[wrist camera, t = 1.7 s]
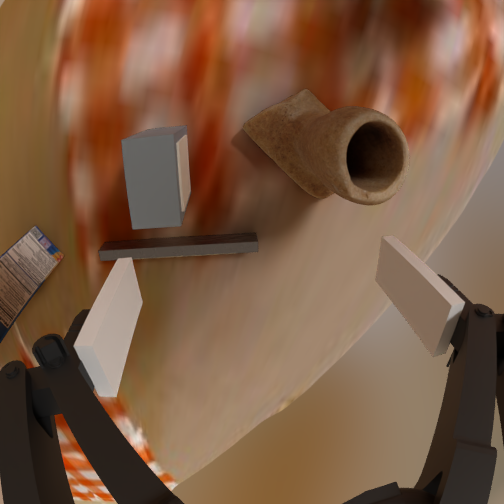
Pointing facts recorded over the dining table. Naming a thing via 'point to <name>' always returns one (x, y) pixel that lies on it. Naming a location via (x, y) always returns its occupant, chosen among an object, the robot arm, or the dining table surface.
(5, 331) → the blue food box
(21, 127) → the dining table surface
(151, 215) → the slate carton
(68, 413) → the robot arm
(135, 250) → the rail
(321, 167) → the brown piece
